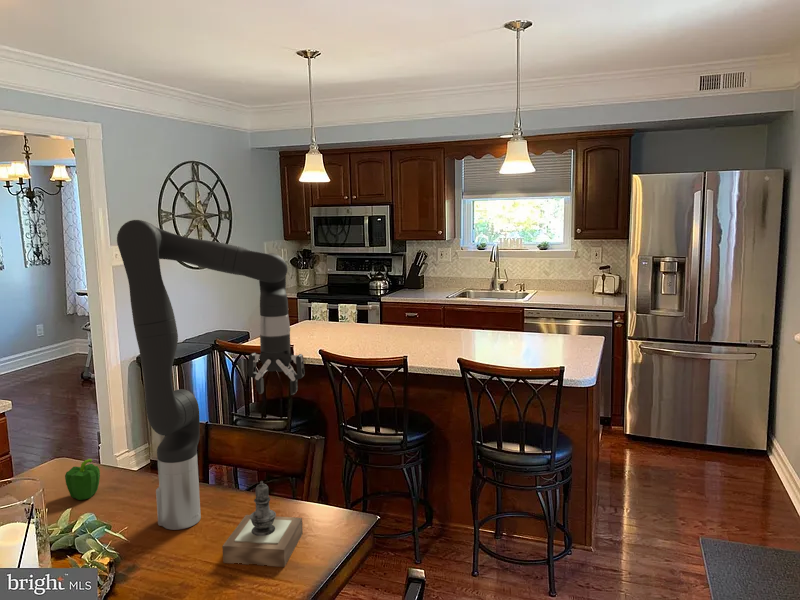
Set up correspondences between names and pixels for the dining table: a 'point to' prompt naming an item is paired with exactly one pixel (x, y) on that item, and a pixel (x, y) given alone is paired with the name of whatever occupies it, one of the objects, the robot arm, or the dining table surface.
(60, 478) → the dining table surface
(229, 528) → the dining table surface
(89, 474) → the bell pepper
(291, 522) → the base block
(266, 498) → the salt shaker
